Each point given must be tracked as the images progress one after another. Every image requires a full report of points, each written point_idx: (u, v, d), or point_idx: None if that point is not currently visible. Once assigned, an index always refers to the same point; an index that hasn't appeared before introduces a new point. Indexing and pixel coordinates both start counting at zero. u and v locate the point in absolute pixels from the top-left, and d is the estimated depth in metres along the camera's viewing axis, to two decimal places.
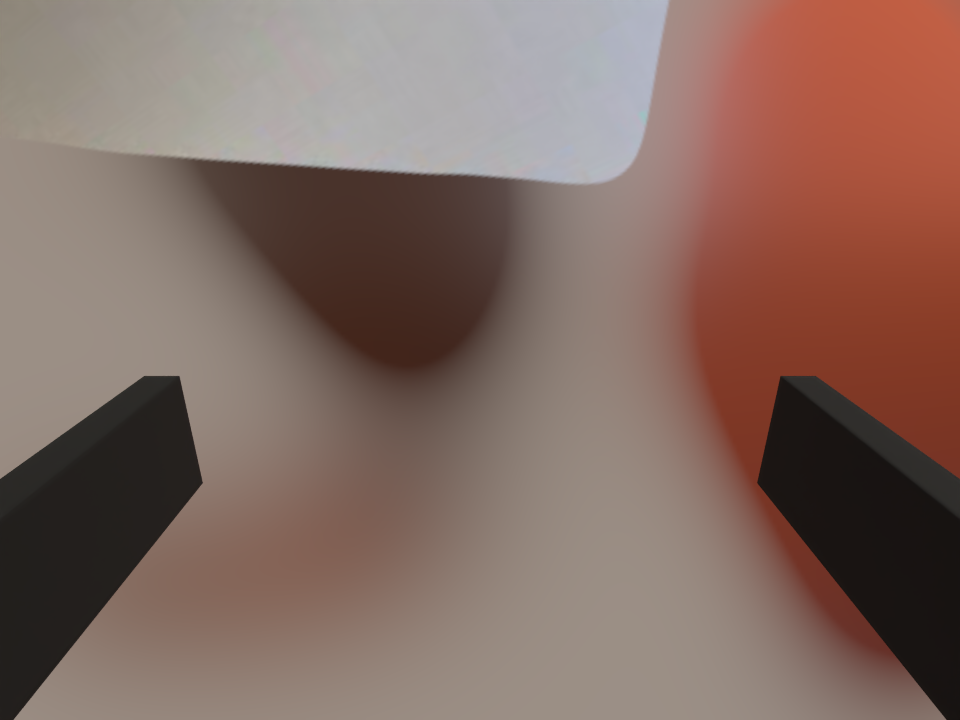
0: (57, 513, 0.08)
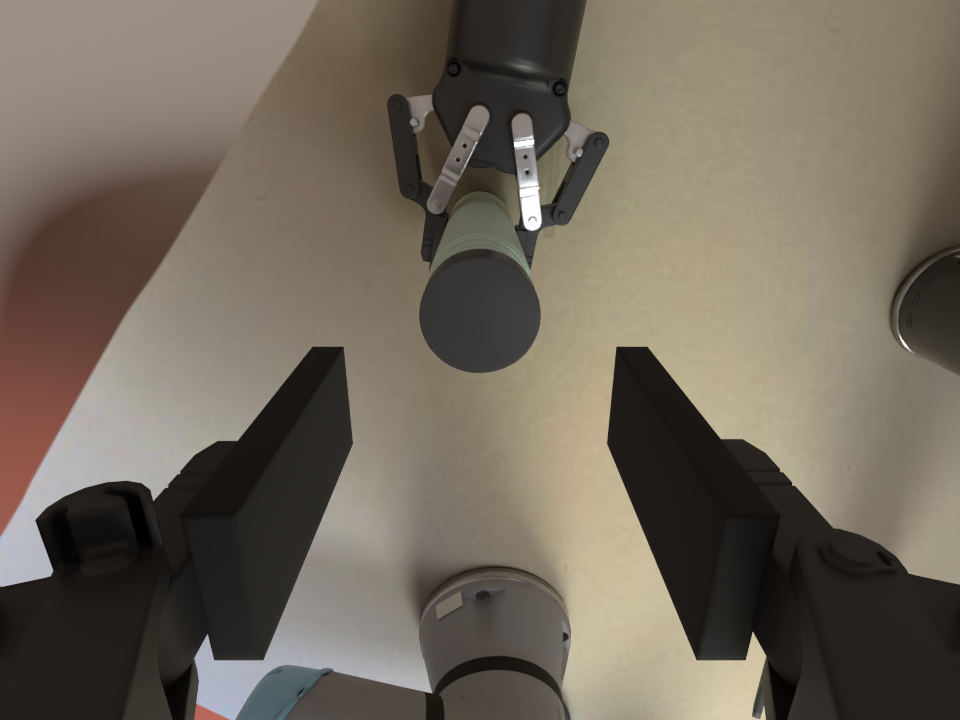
0: (296, 451, 0.10)
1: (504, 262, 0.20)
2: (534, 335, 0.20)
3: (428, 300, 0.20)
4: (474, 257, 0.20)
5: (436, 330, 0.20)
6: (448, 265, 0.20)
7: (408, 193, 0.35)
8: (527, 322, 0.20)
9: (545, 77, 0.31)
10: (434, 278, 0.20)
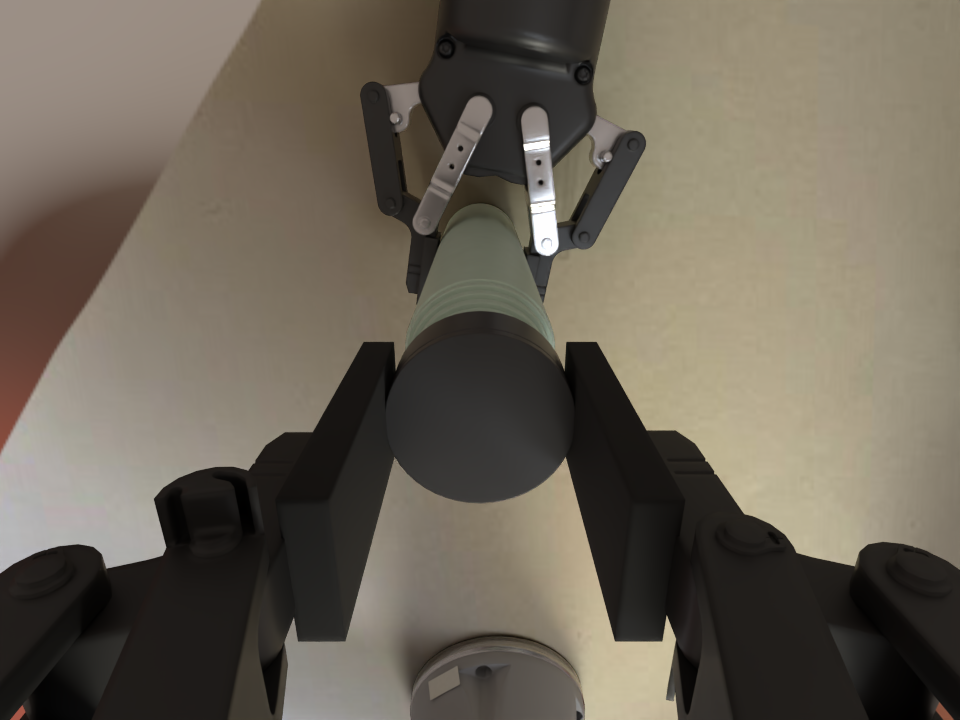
0: (365, 442, 0.10)
1: (520, 340, 0.12)
2: (566, 449, 0.13)
3: (398, 398, 0.13)
4: (471, 332, 0.12)
5: (411, 442, 0.13)
6: (429, 344, 0.12)
7: (388, 209, 0.27)
8: (555, 430, 0.13)
9: (566, 58, 0.24)
10: (407, 365, 0.12)
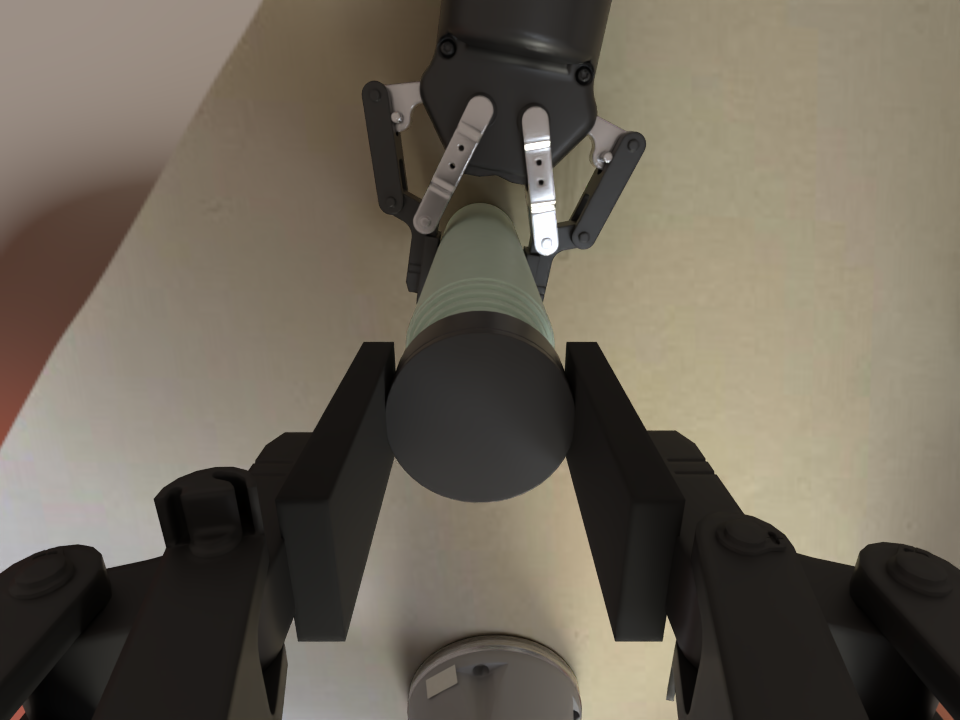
0: (365, 442, 0.10)
1: (392, 384, 0.12)
2: (516, 343, 0.12)
3: (449, 489, 0.13)
4: None
5: (497, 483, 0.13)
6: None
7: (389, 208, 0.27)
8: (492, 353, 0.12)
9: (567, 59, 0.24)
10: (416, 480, 0.13)
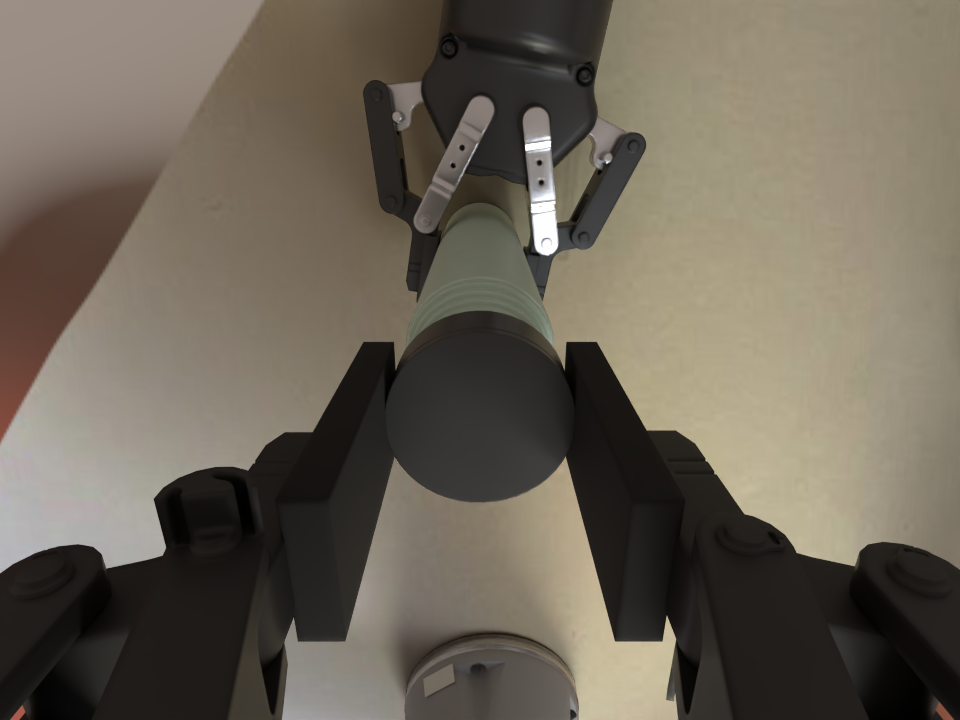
0: (365, 442, 0.10)
1: (436, 492, 0.14)
2: (393, 388, 0.12)
3: (555, 454, 0.13)
4: (478, 500, 0.14)
5: (552, 411, 0.13)
6: (517, 493, 0.14)
7: (390, 207, 0.27)
8: (404, 409, 0.13)
9: (568, 60, 0.24)
10: (540, 483, 0.13)
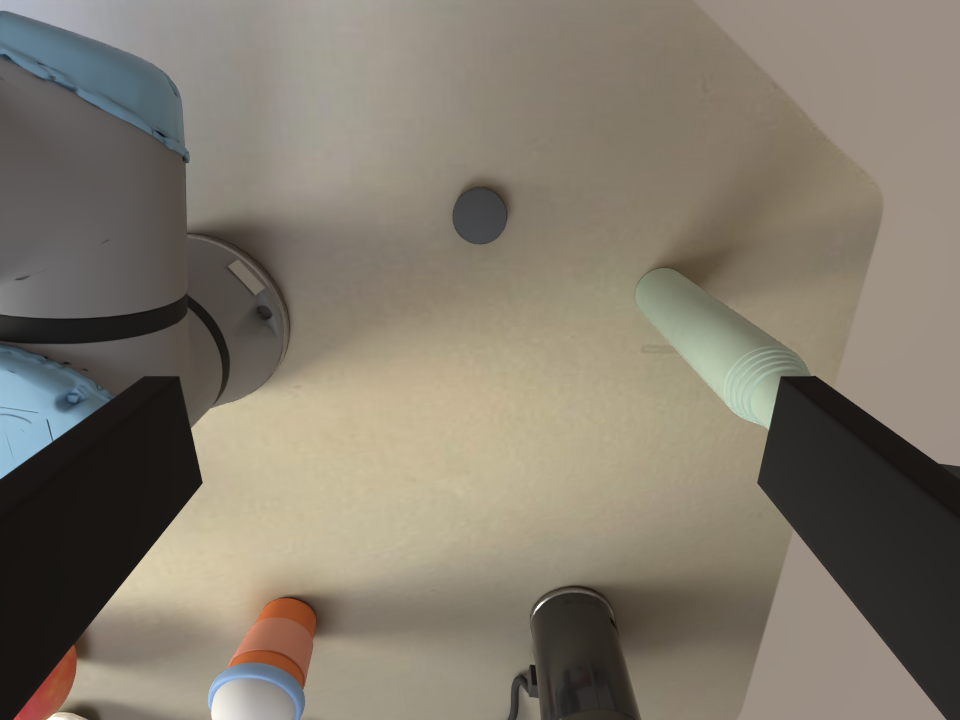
0: (57, 513, 0.08)
1: (495, 194, 0.45)
2: (502, 230, 0.46)
3: (459, 204, 0.45)
4: (483, 189, 0.45)
5: (459, 218, 0.45)
6: (471, 190, 0.45)
7: None
8: (500, 223, 0.46)
9: None
10: (463, 194, 0.45)
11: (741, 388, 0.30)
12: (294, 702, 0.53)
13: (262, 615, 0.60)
